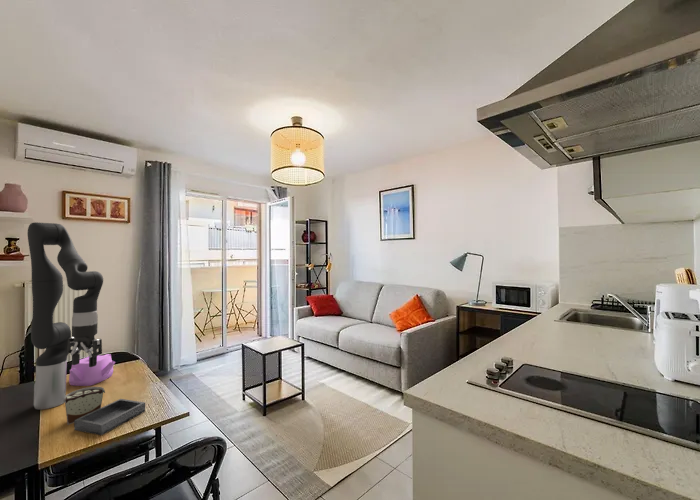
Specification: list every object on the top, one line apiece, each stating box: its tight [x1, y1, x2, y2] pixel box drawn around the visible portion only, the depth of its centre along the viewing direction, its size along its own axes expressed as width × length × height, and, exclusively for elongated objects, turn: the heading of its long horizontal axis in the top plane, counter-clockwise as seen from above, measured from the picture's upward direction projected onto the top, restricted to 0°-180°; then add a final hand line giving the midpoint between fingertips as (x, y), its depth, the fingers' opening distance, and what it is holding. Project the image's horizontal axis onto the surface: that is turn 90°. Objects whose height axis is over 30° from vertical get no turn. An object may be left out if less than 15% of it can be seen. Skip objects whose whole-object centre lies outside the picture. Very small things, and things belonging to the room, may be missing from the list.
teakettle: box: [68, 353, 116, 387], centre depth 152 cm, size 17×17×12 cm
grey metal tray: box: [73, 398, 146, 436], centre depth 116 cm, size 12×17×4 cm
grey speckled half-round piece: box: [62, 386, 106, 426], centre depth 118 cm, size 12×6×10 cm, turn 141°
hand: (84, 365), depth 118 cm, fingers open, 8 cm apart
